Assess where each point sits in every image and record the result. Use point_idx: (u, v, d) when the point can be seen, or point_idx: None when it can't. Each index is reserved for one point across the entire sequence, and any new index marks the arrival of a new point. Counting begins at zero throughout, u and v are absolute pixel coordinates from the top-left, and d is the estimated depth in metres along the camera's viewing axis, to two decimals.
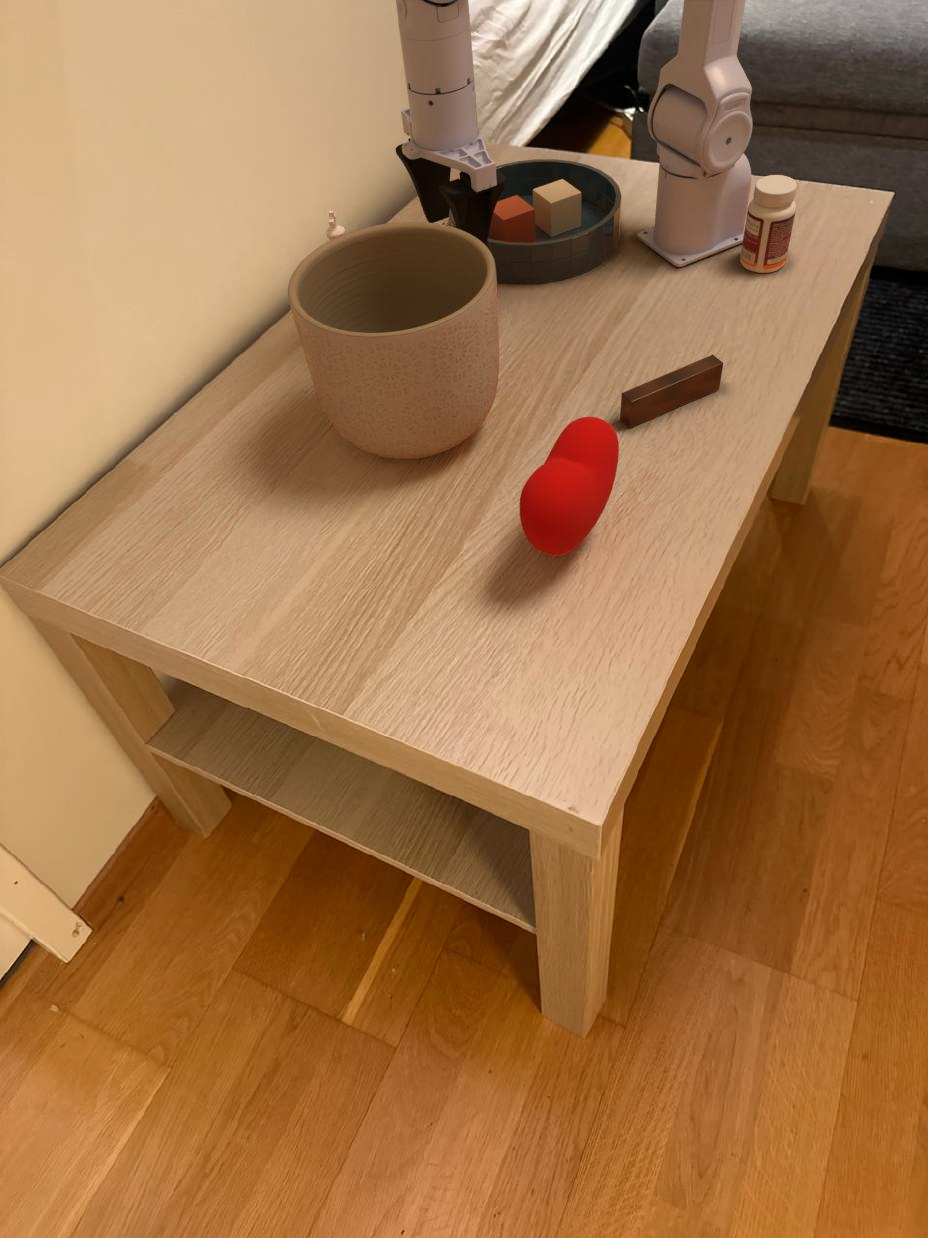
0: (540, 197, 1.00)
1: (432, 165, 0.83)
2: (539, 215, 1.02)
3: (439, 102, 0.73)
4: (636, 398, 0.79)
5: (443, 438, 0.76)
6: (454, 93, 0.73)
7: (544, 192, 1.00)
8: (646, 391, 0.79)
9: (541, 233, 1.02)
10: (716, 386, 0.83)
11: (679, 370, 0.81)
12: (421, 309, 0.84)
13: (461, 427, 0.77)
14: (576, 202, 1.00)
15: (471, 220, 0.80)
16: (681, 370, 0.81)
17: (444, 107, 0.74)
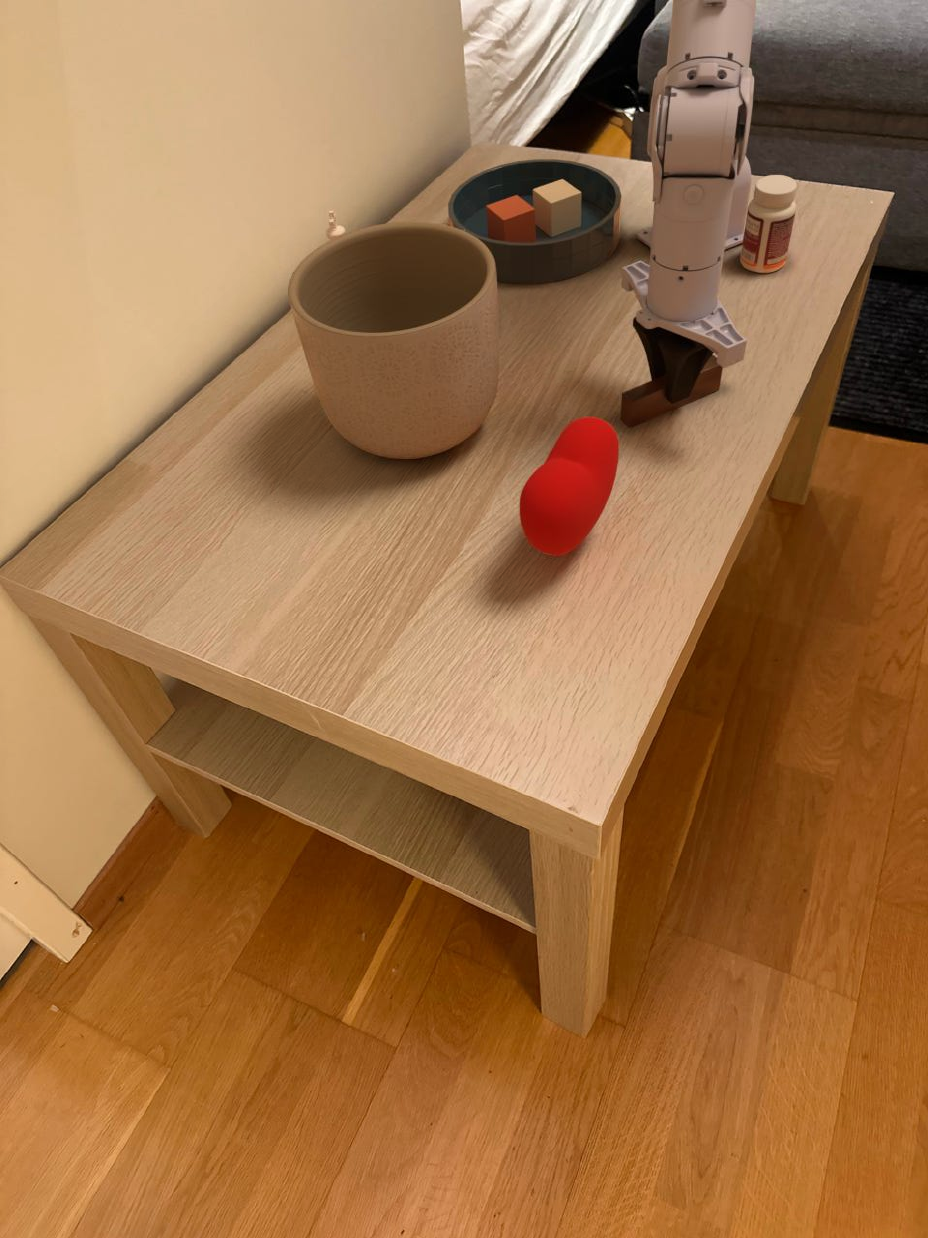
0: (540, 197, 1.00)
1: None
2: (539, 215, 1.02)
3: (690, 278, 0.70)
4: (636, 398, 0.79)
5: (443, 438, 0.76)
6: (707, 269, 0.69)
7: (544, 192, 1.00)
8: (646, 391, 0.79)
9: (541, 233, 1.02)
10: (716, 386, 0.83)
11: None
12: (421, 309, 0.84)
13: (461, 427, 0.77)
14: (576, 202, 1.00)
15: (683, 370, 0.78)
16: None
17: (694, 282, 0.70)
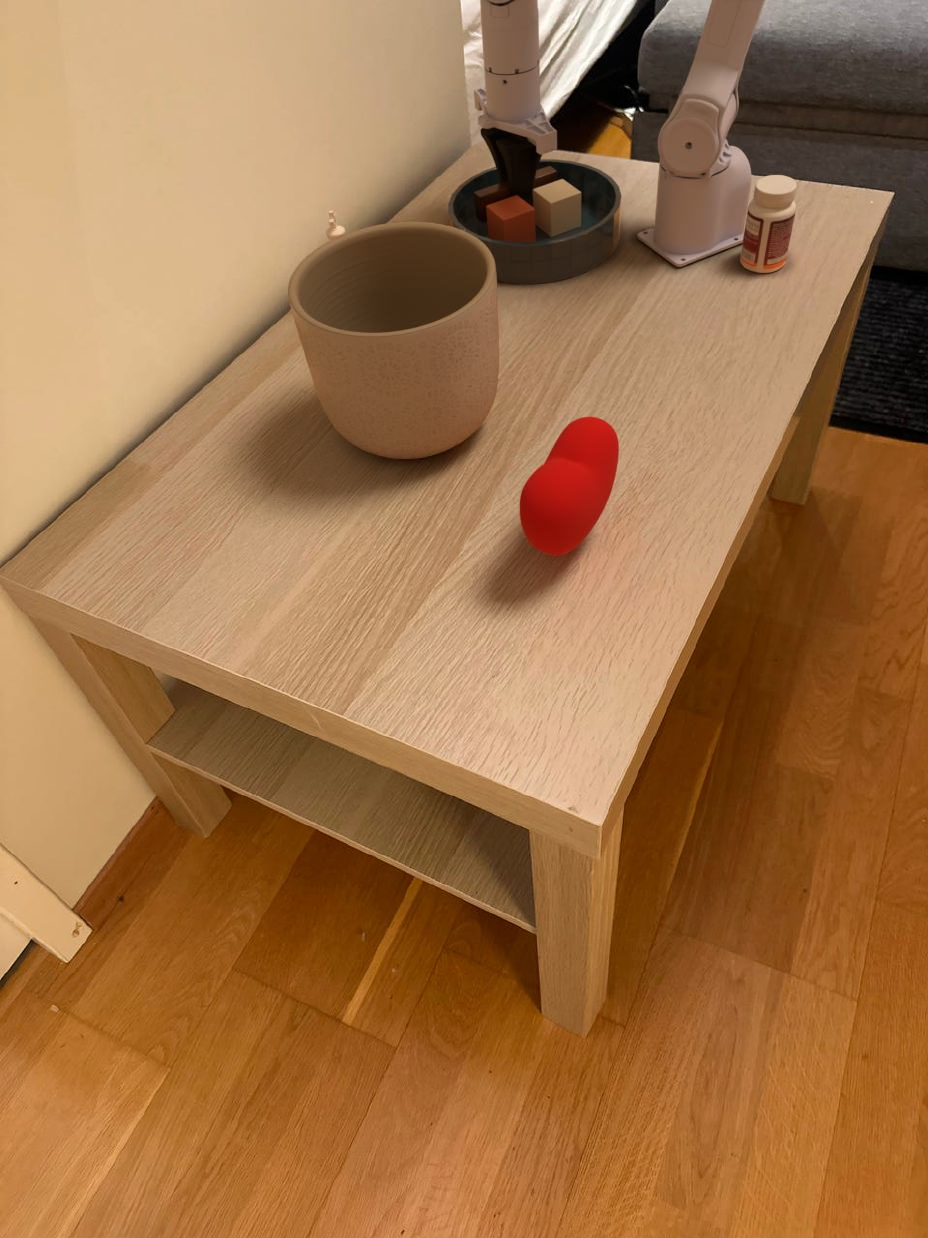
0: (540, 197, 1.00)
1: None
2: (539, 215, 1.02)
3: (512, 81, 0.91)
4: (485, 194, 1.00)
5: (443, 438, 0.76)
6: (524, 74, 0.90)
7: (544, 192, 1.00)
8: (493, 190, 1.00)
9: (541, 233, 1.02)
10: None
11: None
12: (421, 309, 0.84)
13: (461, 427, 0.77)
14: (576, 202, 1.00)
15: (520, 170, 0.99)
16: None
17: (515, 85, 0.91)
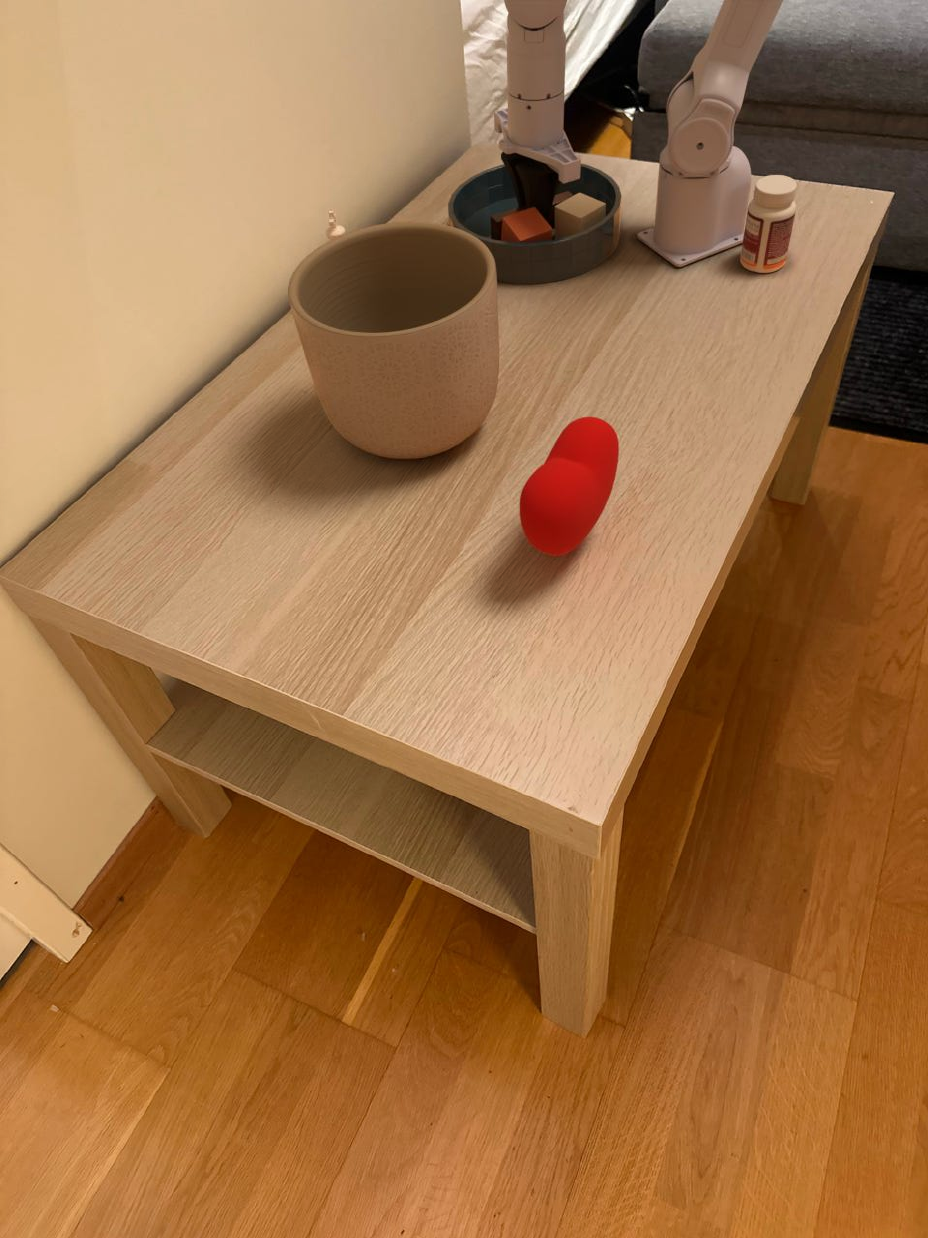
0: (565, 213, 0.97)
1: None
2: (563, 232, 0.99)
3: (536, 107, 0.88)
4: None
5: (443, 438, 0.76)
6: (549, 100, 0.88)
7: (568, 208, 0.97)
8: (510, 214, 0.98)
9: None
10: None
11: None
12: (421, 309, 0.84)
13: (461, 427, 0.77)
14: (601, 214, 0.98)
15: (538, 195, 0.96)
16: None
17: (539, 111, 0.88)
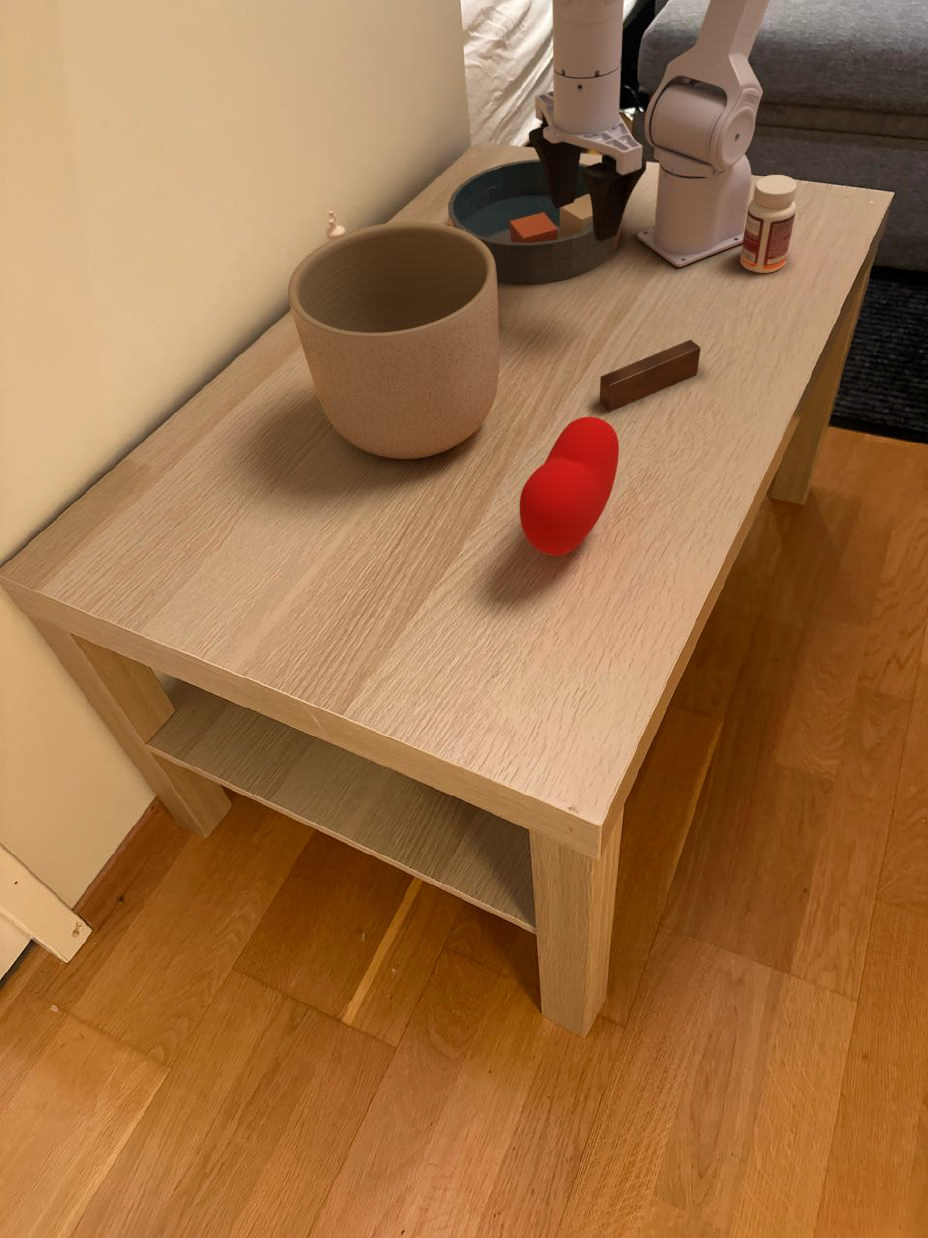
0: (568, 213, 0.97)
1: (564, 150, 0.84)
2: (567, 232, 0.99)
3: (588, 86, 0.74)
4: (615, 381, 0.81)
5: (443, 438, 0.76)
6: (604, 77, 0.74)
7: (573, 208, 0.97)
8: (624, 375, 0.81)
9: None
10: (694, 370, 0.84)
11: (657, 354, 0.83)
12: (421, 309, 0.84)
13: (461, 427, 0.77)
14: None
15: (608, 204, 0.81)
16: (659, 354, 0.82)
17: (592, 91, 0.75)
